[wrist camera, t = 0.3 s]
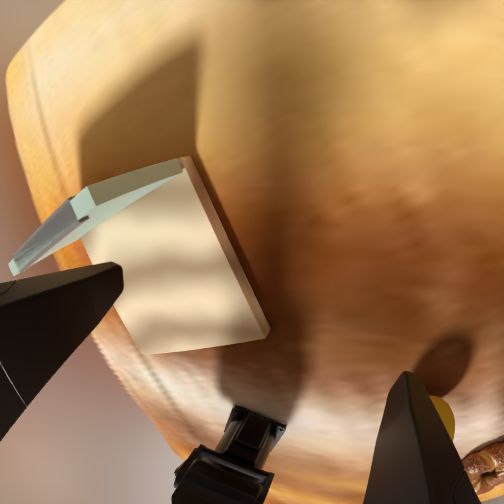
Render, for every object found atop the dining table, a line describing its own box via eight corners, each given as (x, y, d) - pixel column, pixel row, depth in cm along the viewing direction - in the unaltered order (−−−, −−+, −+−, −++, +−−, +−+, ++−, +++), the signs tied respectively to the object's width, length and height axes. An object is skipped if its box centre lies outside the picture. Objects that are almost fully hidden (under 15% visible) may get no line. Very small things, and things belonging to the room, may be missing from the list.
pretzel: (510, 423, 21) (516, 446, 18) (535, 445, 20) (540, 465, 17) (434, 470, 27) (433, 492, 23) (469, 486, 26) (470, 506, 23)
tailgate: (184, 174, 22) (97, 209, 14) (78, 240, 29) (14, 278, 22) (175, 155, 22) (85, 182, 14) (72, 227, 29) (7, 262, 21)
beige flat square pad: (270, 328, 27) (265, 338, 25) (150, 348, 34) (143, 355, 33) (190, 155, 24) (180, 157, 22) (85, 224, 31) (76, 228, 29)
